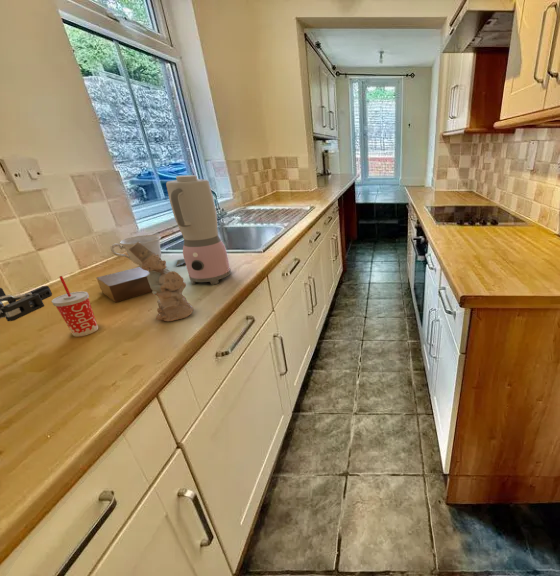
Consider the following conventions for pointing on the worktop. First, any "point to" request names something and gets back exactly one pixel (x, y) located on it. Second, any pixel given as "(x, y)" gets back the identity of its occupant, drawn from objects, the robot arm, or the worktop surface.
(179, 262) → the build plate
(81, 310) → the beverage cup
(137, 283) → the walnut block
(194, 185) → the blender
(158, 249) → the teacup
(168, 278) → the figurine
